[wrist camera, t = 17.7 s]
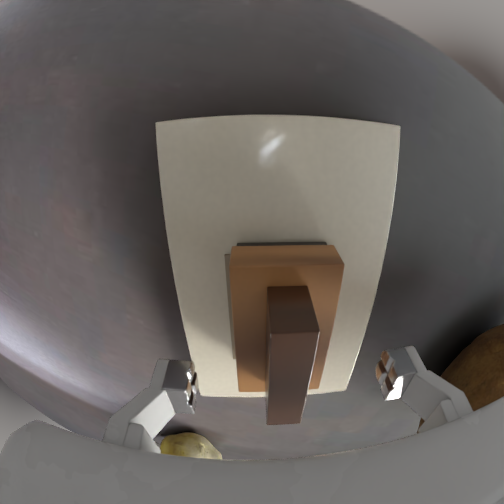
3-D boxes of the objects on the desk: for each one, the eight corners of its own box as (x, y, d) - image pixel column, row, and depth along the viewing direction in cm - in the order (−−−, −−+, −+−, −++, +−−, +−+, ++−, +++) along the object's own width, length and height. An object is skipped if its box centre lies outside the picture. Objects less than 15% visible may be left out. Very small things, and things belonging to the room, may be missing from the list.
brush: (232, 238, 14) (222, 311, 9) (329, 237, 14) (368, 306, 9) (239, 360, 18) (237, 433, 13) (312, 357, 18) (326, 428, 13)
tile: (163, 121, 13) (154, 122, 12) (388, 124, 13) (401, 125, 12) (202, 382, 22) (200, 397, 21) (342, 377, 22) (346, 391, 21)
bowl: (441, 413, 28) (471, 494, 15) (362, 397, 24) (395, 529, 10) (534, 318, 21) (588, 393, 7) (499, 252, 16) (607, 368, 3)
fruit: (136, 421, 26) (214, 432, 24) (162, 431, 30) (233, 440, 28) (128, 464, 22) (208, 483, 20) (157, 469, 26) (229, 482, 24)
